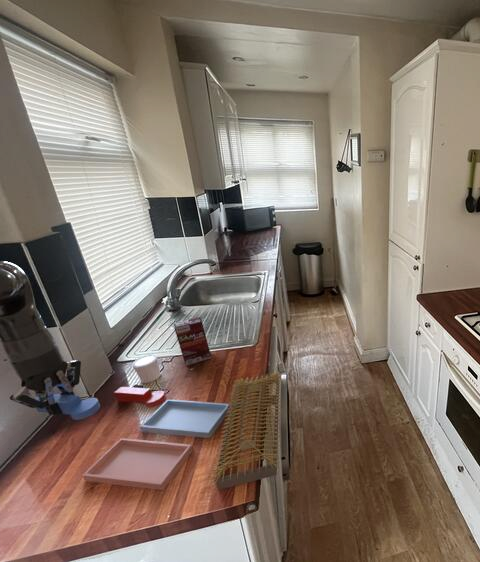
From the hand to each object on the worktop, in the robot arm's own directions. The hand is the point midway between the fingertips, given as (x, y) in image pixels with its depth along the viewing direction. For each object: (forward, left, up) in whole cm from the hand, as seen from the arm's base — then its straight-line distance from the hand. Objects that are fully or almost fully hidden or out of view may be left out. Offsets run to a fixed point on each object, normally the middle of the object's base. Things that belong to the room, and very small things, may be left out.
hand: (64, 409), depth 75 cm
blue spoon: (+1, 0, 0) cm, 2 cm away
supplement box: (+5, +38, -13) cm, 41 cm away
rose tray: (+19, -3, -13) cm, 23 cm away
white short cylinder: (-5, +27, -13) cm, 31 cm away
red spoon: (+1, +17, -13) cm, 22 cm away
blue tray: (+21, +11, -13) cm, 27 cm away
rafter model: (+41, +11, -13) cm, 45 cm away
